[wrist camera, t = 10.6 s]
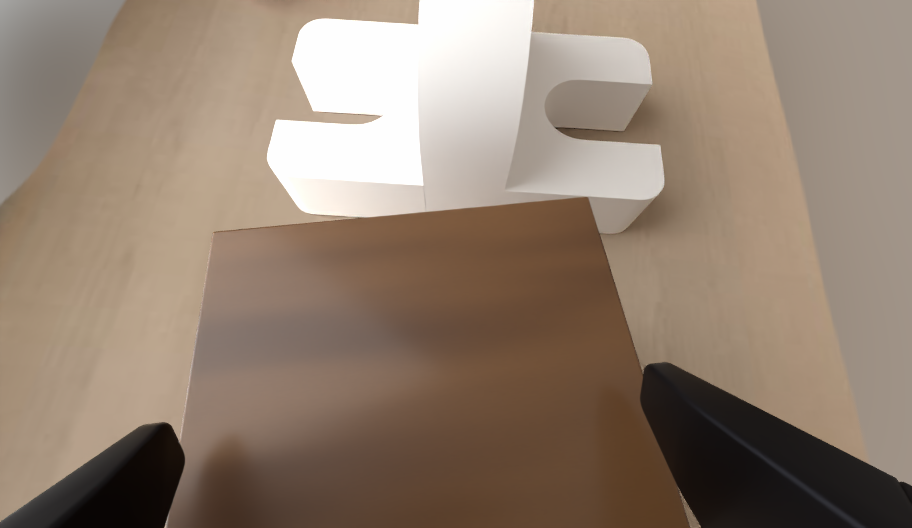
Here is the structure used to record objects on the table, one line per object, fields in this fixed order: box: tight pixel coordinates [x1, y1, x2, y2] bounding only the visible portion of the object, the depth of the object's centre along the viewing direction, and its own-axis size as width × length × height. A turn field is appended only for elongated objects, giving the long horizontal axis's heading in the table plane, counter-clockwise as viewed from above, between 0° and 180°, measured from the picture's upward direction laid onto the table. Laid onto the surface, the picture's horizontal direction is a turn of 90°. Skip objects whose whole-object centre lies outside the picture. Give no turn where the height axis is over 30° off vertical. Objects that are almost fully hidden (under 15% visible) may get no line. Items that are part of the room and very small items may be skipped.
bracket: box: [267, 0, 664, 234], centre depth 20 cm, size 19×10×11 cm, turn 86°
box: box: [165, 197, 690, 528], centre depth 14 cm, size 11×10×8 cm
